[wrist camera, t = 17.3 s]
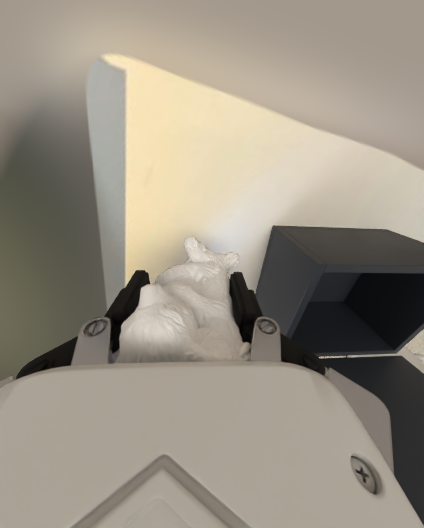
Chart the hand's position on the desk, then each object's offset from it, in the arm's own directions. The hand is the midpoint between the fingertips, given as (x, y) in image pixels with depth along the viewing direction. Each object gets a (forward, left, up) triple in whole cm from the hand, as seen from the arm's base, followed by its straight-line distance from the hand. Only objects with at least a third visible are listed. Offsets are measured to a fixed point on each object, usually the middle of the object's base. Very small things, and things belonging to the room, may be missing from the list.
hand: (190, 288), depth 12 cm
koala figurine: (-1, 0, -3) cm, 4 cm away
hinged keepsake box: (-19, +5, -11) cm, 22 cm away
